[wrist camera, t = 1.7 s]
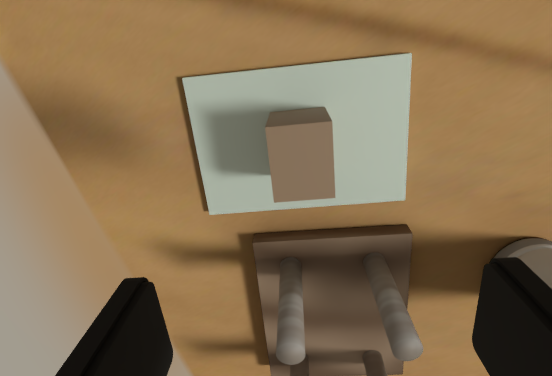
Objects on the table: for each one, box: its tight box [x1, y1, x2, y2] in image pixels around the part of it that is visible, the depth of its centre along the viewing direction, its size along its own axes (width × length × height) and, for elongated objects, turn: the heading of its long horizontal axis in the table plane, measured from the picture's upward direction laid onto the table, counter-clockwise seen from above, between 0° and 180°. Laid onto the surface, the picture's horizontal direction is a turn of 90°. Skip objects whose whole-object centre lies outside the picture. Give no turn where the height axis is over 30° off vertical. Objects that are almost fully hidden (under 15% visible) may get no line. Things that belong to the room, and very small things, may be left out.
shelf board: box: [182, 53, 412, 215], centre depth 24 cm, size 16×11×6 cm
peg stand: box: [253, 224, 423, 376], centre depth 28 cm, size 16×13×10 cm
